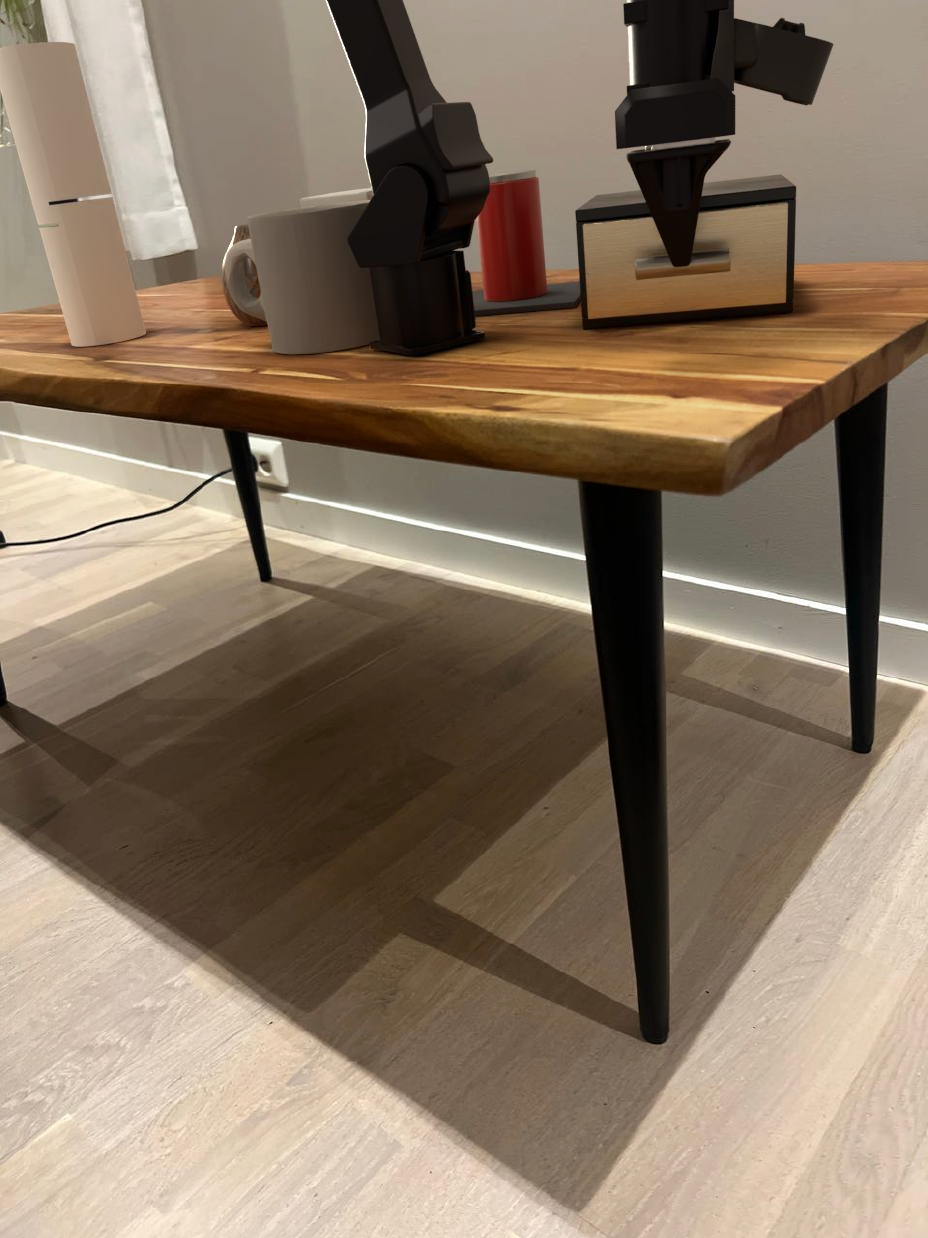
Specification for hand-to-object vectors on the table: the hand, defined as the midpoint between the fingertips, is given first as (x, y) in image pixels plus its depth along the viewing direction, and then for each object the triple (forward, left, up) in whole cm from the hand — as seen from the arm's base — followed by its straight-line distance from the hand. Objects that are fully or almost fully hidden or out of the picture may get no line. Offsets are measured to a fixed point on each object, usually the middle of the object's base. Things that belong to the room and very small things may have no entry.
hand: (681, 265), depth 63 cm
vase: (-9, +45, -5) cm, 46 cm away
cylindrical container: (-21, +56, -5) cm, 60 cm away
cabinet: (+10, +9, -4) cm, 14 cm away
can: (+7, +26, -4) cm, 27 cm away
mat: (+7, +26, -4) cm, 27 cm away
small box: (-1, +39, -5) cm, 39 cm away
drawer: (+7, +6, -4) cm, 10 cm away
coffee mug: (-12, +29, -5) cm, 32 cm away
